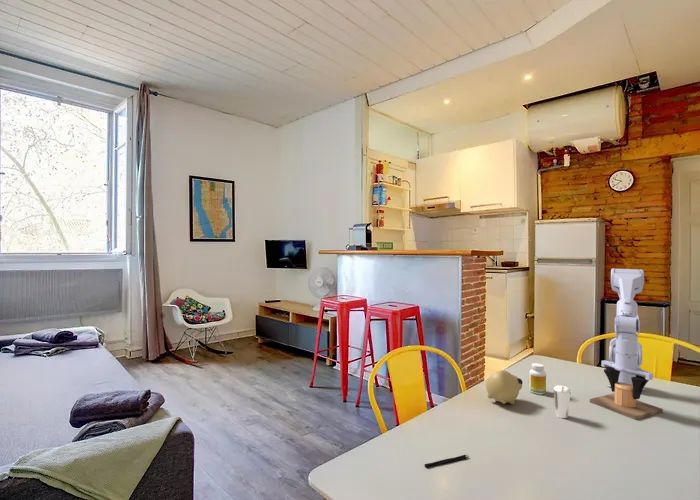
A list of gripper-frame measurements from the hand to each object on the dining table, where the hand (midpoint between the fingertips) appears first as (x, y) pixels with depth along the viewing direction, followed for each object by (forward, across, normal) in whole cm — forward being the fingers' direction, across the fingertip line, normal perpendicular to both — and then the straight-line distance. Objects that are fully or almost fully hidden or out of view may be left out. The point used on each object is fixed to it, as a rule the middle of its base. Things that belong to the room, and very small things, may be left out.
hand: (625, 394), depth 123 cm
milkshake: (+4, -3, -26) cm, 26 cm away
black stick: (+4, +3, -74) cm, 74 cm away
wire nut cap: (+3, 0, 0) cm, 3 cm away
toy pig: (+4, -18, -34) cm, 39 cm away
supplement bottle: (+4, -20, -16) cm, 26 cm away
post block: (+4, 0, 0) cm, 4 cm away
